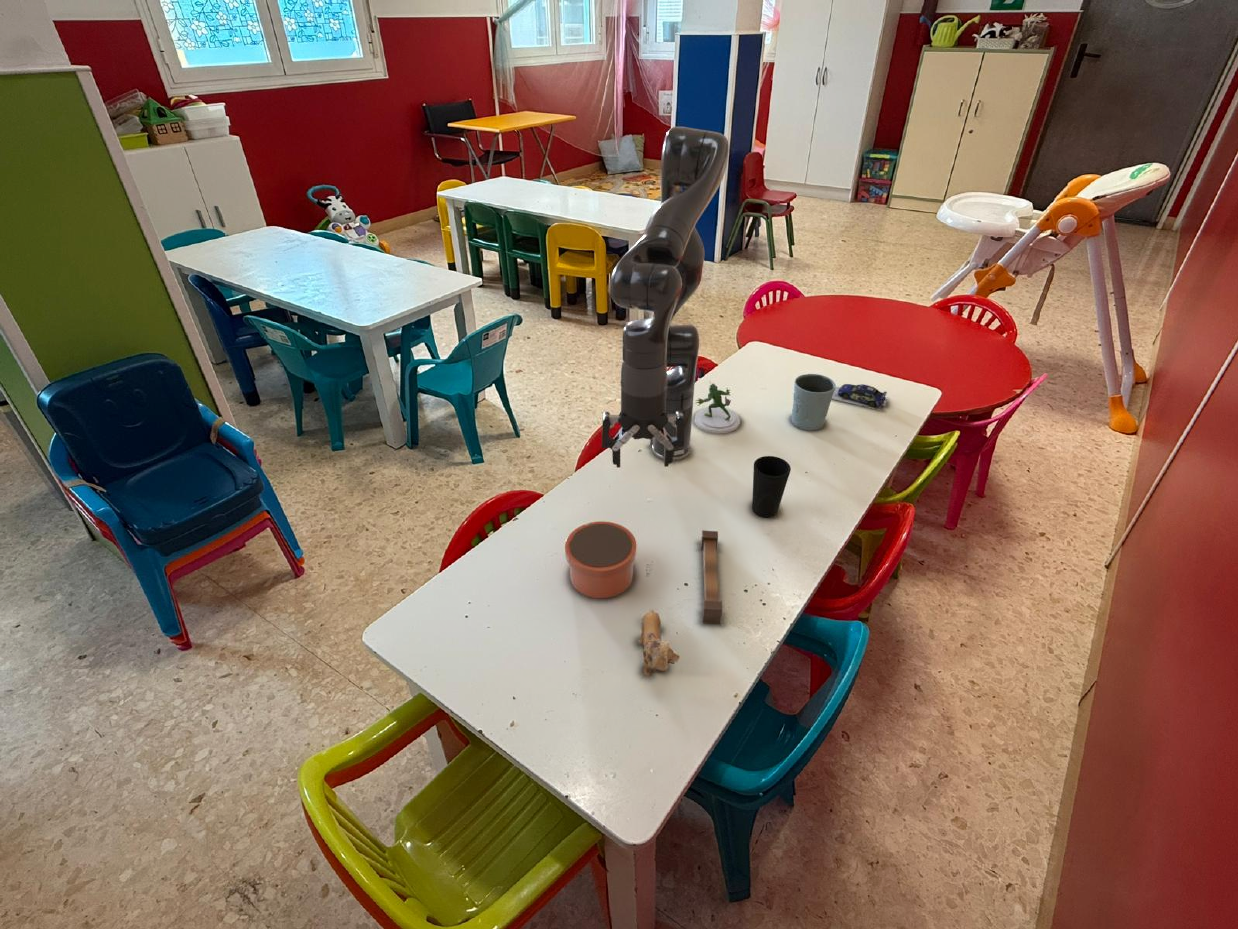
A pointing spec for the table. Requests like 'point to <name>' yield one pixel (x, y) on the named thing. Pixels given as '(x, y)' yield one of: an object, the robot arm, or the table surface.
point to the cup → (769, 485)
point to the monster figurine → (716, 413)
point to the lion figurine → (655, 645)
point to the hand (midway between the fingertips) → (642, 464)
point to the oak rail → (710, 578)
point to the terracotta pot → (601, 558)
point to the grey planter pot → (811, 401)
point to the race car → (860, 396)
